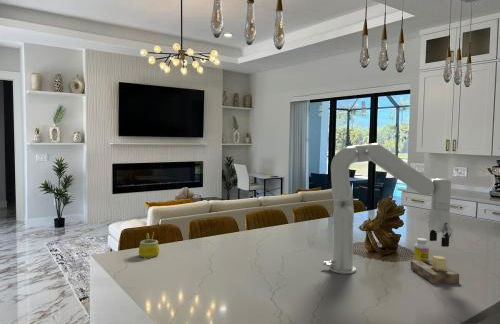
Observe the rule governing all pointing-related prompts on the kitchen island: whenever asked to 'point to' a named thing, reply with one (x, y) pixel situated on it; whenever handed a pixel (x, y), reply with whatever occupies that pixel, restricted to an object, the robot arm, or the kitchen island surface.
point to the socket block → (434, 277)
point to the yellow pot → (149, 248)
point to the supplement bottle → (421, 250)
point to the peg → (439, 264)
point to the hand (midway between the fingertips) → (438, 243)
